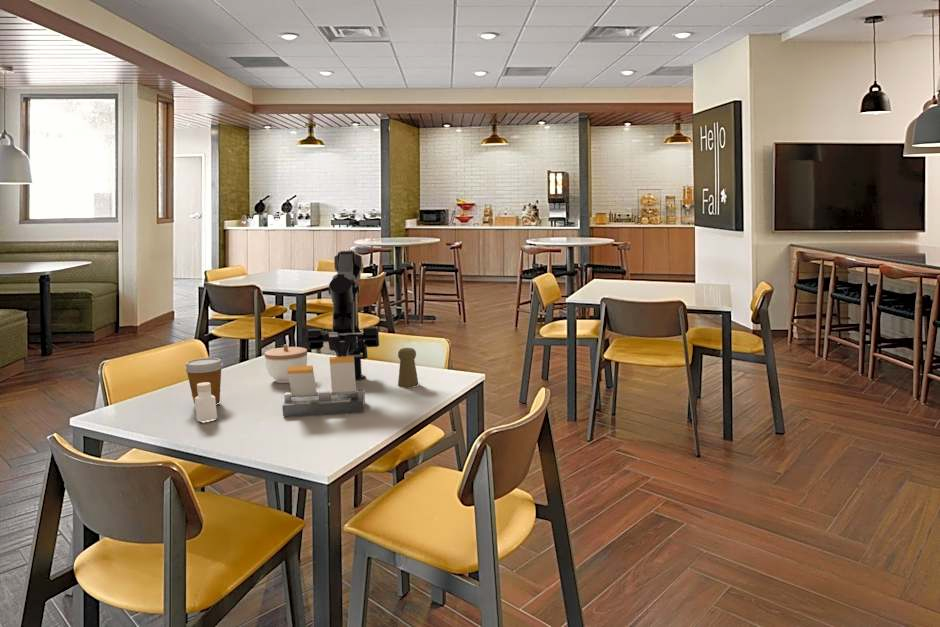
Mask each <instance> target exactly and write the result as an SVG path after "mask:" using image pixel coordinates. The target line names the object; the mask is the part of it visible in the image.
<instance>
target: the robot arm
mask: <svg viewBox="0 0 940 627" xmlns="http://www.w3.org/2000/svg"><path fill="white" fill-rule="evenodd" d="M333 260H334V271H335V272H337V273H336V274H335V275H333V276H332V279H331V281H330V282H329V283H328V284H329V285H328V288H327V289H328V290H327V291H328V295H329V296H330V297H331V302H332V304H333V306H332V329H331V330H332V331H331V332H330V331H329V332H328V334H323V330H322V329H320V328H319V329H307V331H306V332H305V340H306V346H307V350H321V349H322V348H323V347H324V344H325V343H328V348H329V350H330V351H331V352H332V351H334V353H335V355H336V357H342V356H354V367H355V381H356V380H362V379H363V380H364V379H366V378H367V376H366V375H364V374H362V360H365V359H367V358H368V348H377V347H379V346H380V333H379V328H378V327H377V326H374V327H373V326H372V327H363V328H362V329H363V330H362V331H361V330H360V328H359V327H358V326H357V325H358V324H357V295H359V293H360V290H361V286H360V284H359V283H358V282H359V281H360V280H361V276H362V275H361V272H362V271H363V269H364V268H363V258H362V255H360V254H357V253H356V252H355V251H353V250H340V251H338V252H337V255H335V256H334V259H333Z"/></svg>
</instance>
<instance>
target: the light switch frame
mask: <svg viewBox="0 0 940 627" xmlns="http://www.w3.org/2000/svg"><path fill="white" fill-rule="evenodd" d="M291 394H292V392H285V393H284V394H283V398H284V402H283V403H282V417H283V416H295V417H309V415H310V416H311V415H313V416H328V415H331V416H332V415H346V414H347V413H348V415H349V414H363V413H365V406H366V392H365V389H364V388H358V390H357V394H345V395H331V390H329V389H328V390H319V391H318V396H307V397H291ZM311 417H312V416H311Z"/></svg>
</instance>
